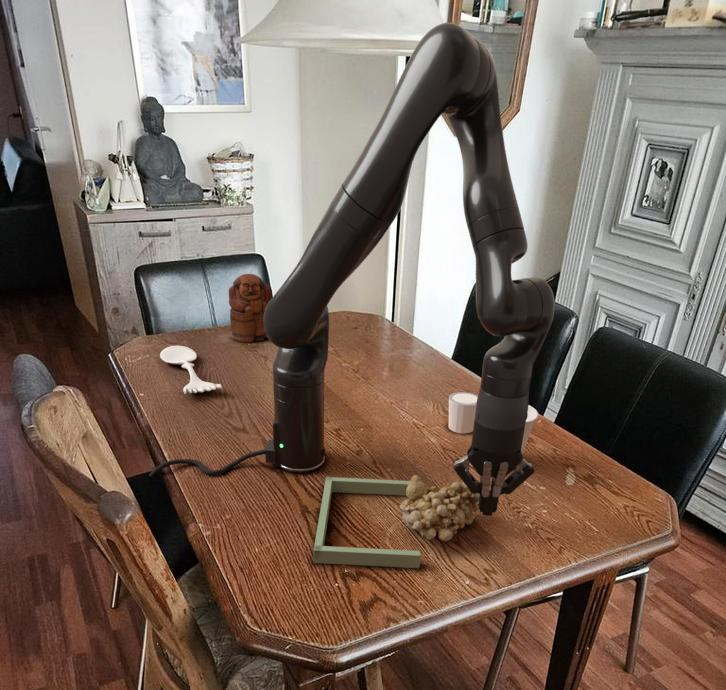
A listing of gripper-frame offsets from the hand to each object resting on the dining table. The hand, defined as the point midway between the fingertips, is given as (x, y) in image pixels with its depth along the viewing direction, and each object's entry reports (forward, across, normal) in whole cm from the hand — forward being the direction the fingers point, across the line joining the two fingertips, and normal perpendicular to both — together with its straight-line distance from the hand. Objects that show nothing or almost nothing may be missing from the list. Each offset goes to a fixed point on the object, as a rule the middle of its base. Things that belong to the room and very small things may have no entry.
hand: (486, 512), depth 103 cm
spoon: (+2, +66, -60) cm, 89 cm away
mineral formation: (+4, +9, 0) cm, 9 cm away
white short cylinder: (+4, 0, -38) cm, 38 cm away
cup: (+4, -7, -24) cm, 25 cm away
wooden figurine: (+2, +55, -89) cm, 105 cm away
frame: (+3, +19, 0) cm, 19 cm away
